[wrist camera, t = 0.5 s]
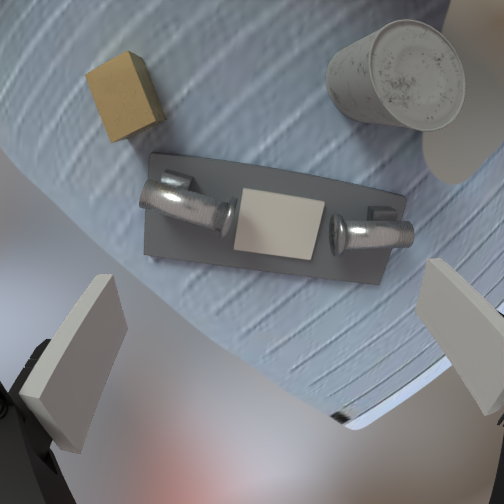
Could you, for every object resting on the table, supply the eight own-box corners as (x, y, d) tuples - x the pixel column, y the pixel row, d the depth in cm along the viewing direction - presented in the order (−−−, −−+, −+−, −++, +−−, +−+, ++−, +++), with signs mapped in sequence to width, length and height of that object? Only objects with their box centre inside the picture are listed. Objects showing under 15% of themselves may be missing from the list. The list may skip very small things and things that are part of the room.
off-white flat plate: (243, 187, 34) (243, 189, 33) (323, 201, 35) (324, 202, 34) (233, 247, 37) (233, 249, 36) (309, 257, 38) (310, 260, 37)
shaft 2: (397, 206, 35) (420, 222, 30) (392, 240, 37) (413, 260, 32) (327, 205, 35) (342, 222, 30) (324, 241, 37) (338, 263, 32)
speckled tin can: (324, 39, 28) (365, 8, 17) (401, 51, 28) (463, 35, 17) (326, 120, 32) (369, 125, 21) (401, 127, 32) (465, 138, 21)
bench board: (152, 152, 33) (149, 153, 32) (403, 195, 36) (407, 198, 35) (146, 250, 38) (143, 254, 37) (375, 280, 41) (379, 285, 40)
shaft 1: (148, 203, 34) (133, 220, 29) (158, 166, 32) (143, 176, 27) (225, 227, 36) (222, 247, 30) (237, 190, 34) (237, 205, 29)
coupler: (104, 78, 29) (85, 74, 24) (142, 58, 28) (128, 50, 24) (127, 138, 32) (111, 143, 28) (167, 119, 32) (155, 120, 27)
